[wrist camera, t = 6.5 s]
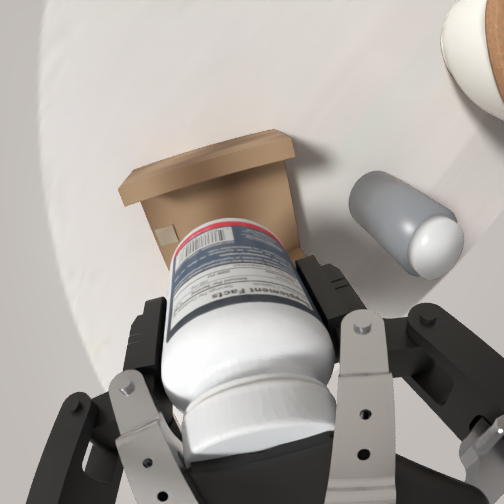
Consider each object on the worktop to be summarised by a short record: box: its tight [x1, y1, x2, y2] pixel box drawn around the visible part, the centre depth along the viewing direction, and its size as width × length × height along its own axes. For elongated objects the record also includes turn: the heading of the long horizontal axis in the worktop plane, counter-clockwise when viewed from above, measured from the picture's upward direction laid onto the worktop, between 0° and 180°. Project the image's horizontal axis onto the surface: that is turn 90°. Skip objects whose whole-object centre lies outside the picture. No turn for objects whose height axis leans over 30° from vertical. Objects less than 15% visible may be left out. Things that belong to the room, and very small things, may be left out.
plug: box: [349, 171, 464, 280], centre depth 18 cm, size 4×4×8 cm
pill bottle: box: [161, 218, 337, 468], centre depth 10 cm, size 5×5×9 cm
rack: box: [118, 129, 306, 272], centre depth 20 cm, size 9×17×4 cm, turn 13°
